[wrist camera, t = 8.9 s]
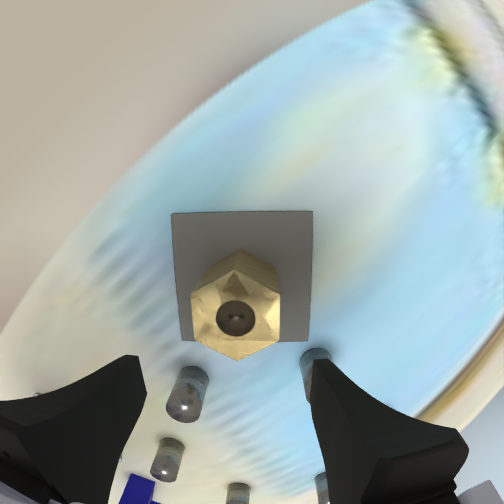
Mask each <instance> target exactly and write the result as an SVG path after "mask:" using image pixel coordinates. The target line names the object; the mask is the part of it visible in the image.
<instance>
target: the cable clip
mask: <svg viewBox="0 0 504 504" xmlns="http://www.w3.org/2000/svg"><path fill="white" fill-rule="evenodd" d="M154 486H155V482H154V481H151V480H148V479H145V478H142V477H140V476H137V475H134V474H132V473H131V475H130V477H129V480H128V482H127V485H126V487H125V489H124V492H123V494H122V497H121V499H120V502H119V504H160V503H157V502H154V501H152V496H153V491H154Z"/></svg>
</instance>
